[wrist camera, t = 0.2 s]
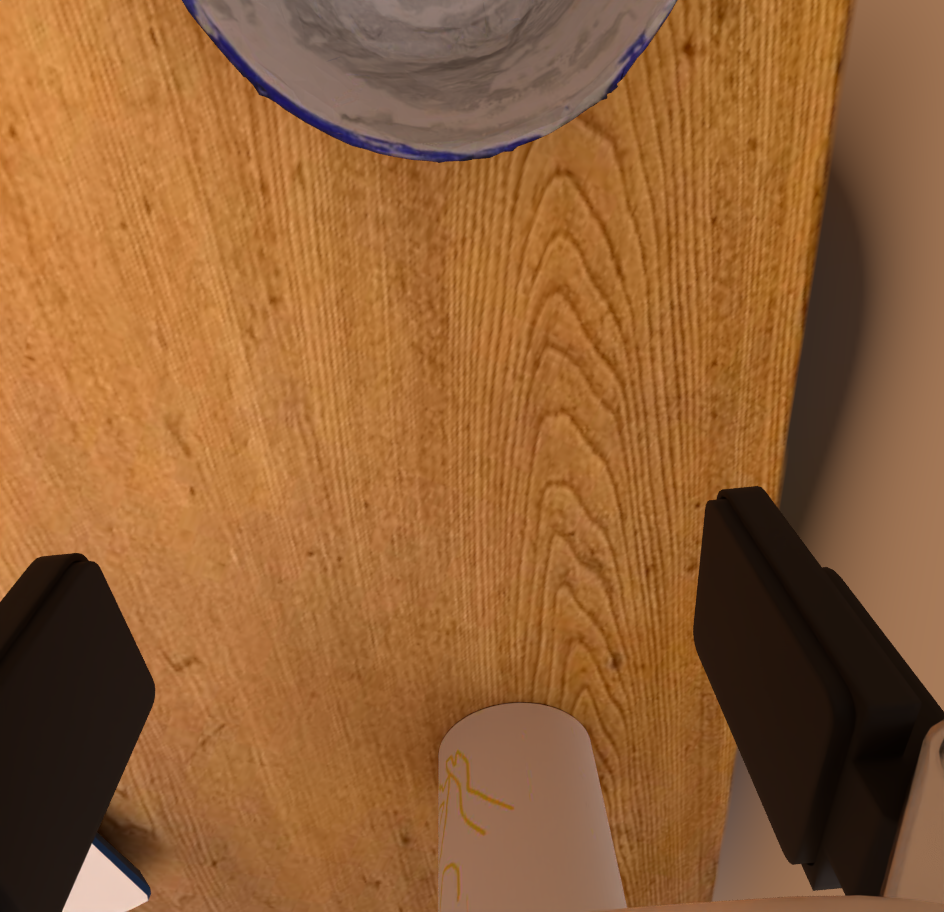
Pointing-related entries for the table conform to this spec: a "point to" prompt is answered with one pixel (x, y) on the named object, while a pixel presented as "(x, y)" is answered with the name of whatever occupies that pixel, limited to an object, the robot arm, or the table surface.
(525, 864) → the pink tall cylinder
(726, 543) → the robot arm
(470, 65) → the bowl
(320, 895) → the table surface
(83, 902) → the plate
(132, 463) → the table surface
